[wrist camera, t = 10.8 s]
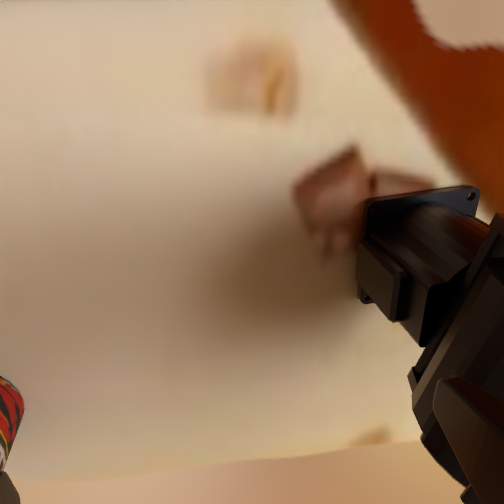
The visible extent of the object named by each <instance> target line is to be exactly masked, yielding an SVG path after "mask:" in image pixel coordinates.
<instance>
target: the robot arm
mask: <svg viewBox="0 0 504 504" xmlns="http://www.w3.org/2000/svg"><path fill="white" fill-rule="evenodd" d="M470 193H471V195H470V196H469V197H468V195H469V194H470ZM467 197H468V198H467ZM479 197H480V191H479V189H477V188H475V187H473V186H469V185H468V186H461V187H454V188H446V189H439V190H431V191H424V192H417V193H409V194H402V195H394V196H387V197H380V198H373V199H370V200H369V201H367V203H366V204H365V206H364V214H363V227H362V237H361V238H360V240H359V242H358V253H357V266H356V280H357V281H358V291H357V296H358V298H359V300H360V301H361V302H362V303H363V304H370V303H375V304H376V305H377V306H378V307H379V309H380V310H381V311H382V312H383V314H384V315H385V316H386V317H387V319H388V320H390V321H391V322H392V323H395V322H399V323H400V324H401V325H402V326H403V327H404V329H405V330H406V331H407V332H408V333H409V335H410V336H411V337H412V338H413V339H414V341H415V342H416V343H417V344H418V345H419V346H420V347H425V349H424V351H423V353H422V355H421V356H420V358H419V360H418V362H417V364H416V366H413V367H412V368H411V370H410V372H409V374H408V375H407V377H408V380H409V384H410V387H411V390H412V410H413V412H414V415H415V417H416V419H417V421H418V424H419V426H420V428H421V430H422V432H423V433H422V435H421V436H420V439H421V442H422V444H423V445H424V447H425V448H426V449H427V451H428V452H429V453H430V455H431V456H432V457H433V458H434V460H435V461H436V462H437V463H438V464H439V465H440V466H441V467H442V468H443V469H444V470H445V471H446V472H447V473H448V474H449V475H450V476H451V477H452V478H453V479H454V480H456V481H457V482H458V483H459V484H461V485H462V486H463V487H465V489H464V491H463V492H462V494H461V495H460V498H461V500H462V502H463V503H464V504H504V214H501V213H496V214H495V216H494V218H493V219H492V221H491V223H490V225H488V224H487V223H485V222H483V221H481V220H480V219H478V218H476V217H475V215H476V210H477V206H478V201H479ZM376 205H377V209H376V210H375V211H373V212H372V208H373V207H374V206H376ZM366 294H368V295H367V296H366V297H364V296H365V295H366ZM0 504H20V497H19V494H18V492H17V490H16V488H15V487H14V485H13V483H12V481H11V480H10V478H9V476H8V474H7V473H6V472H4V471H0Z"/></svg>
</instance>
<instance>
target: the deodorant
mask: <svg viewBox="0 0 504 504" xmlns="http://www.w3.org/2000/svg"><path fill="white" fill-rule="evenodd" d="M23 413H24V402H23V398H22V396H21V395H20V393H19V391H18V390H17V389H16V388H15V387H14V386H13V385H12V384H11V383H10V382H9V381H8V380H6V379H4V378H2V377H1V376H0V471H3V469H4V467H5V464H6V461H7V458H8V456H9V453H10V450H11V447H12V445H13V442H14V439H15V436H16V434H17V431H18V428H19V425H20V423H21V420H22V416H23Z"/></svg>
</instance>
